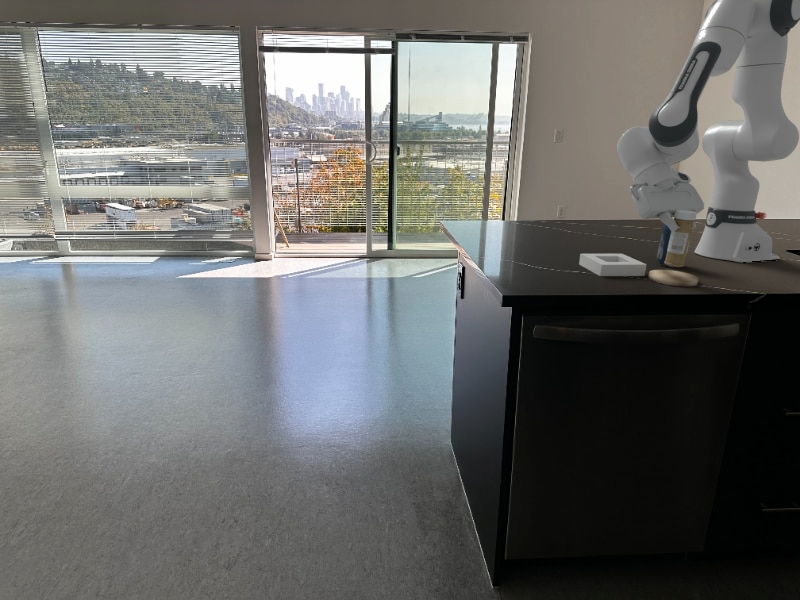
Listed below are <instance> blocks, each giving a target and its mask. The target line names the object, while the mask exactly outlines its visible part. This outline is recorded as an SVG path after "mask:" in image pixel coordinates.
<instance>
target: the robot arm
mask: <svg viewBox="0 0 800 600" xmlns="http://www.w3.org/2000/svg"><path fill="white" fill-rule="evenodd" d="M798 22H800V0H715V1H714V2H712V4H711V5H710V6H709V7H708V9H707V10H706V13H705V15H704V19H703V22H702V23H701V25H700V28H698V29H699V30H697V31H698V32H697V34H696V36H695V38H694V41H693V43H692V46H691V48H690V51H689V54H688V57H687V59H686V61H685V62H684V65H683V67H682V68H681V71H680V73H679V74H678V76H677V78H676V81H675V82H674V85H673V87H672V88H671V90H670V92H669V93H668V95H667V96H666V97H665V98H664V100H663V101H662V102H661V103H660V104H659V105H658V106H657V107H656V108H655V109H654V110H653V112H652V113H651V115H650V117H649V121H648V126H641V125H635V126H633V127H630V128H628V129H627V130H626V131H625V132H623V133H622V135H621V136H620V138H619V139H618V141H617V144H616V152H617V156H618V158H619V160H620V162H621V164H622V166H623V168H624V170H625V171H626V173H628V174H629V175H630V176H631V179H632V182H633V184H632V185H631V186H630V189H629V191H630V193H631V194H632V195H631V199H632V202H633V205H634V207H635V209H636V211H637V214H638V215H639V217H641V218H642V219H643V220H645V219H647V220H648V219H649V220H650V219H659V220H660V222H662V223H663V225H667V226H668V227H669V229H670V230H671V231H672V232H673V231H678V230H679V229H680V228H681V226H680V225H679V223H678V222H675V221H674V215H675V211H676V210H690V211H695V212H696V213H697V214H699V213H701V212H702V211H703V210H704V209H705V203H704V201H703V199H702V197H701V196H700V194H699V192H698V191H697V189H696V188H695V187H694V185H692V184H691V183H690V182H691V181H692V179H691V177H690V176H689V175H688V174H686V173H683V172H680V171H678V170H676V169H674V168H672V167H671V166H672V165H675V164H677V163H681V162H682V161H684V160H687V159H689V158H690V157H692V156H693V155H694V154H695V152H696V151H697V150H698V148H699V144H700V133H699V125H698V124H699V123H698V120H699V119H698V115H699V114H698V102H699V101H700V98H701V96H702V94H703V91H704V90H705V88H706V85H707V84H708V82H709V80H710V77H712V78H713V77H718V76H720V75H724V74H725V73H727V72H729V71H730V70H731V68H732V67H733V66H734V65H735V63H736V67H735V73H734V77H733V78H734V80H733V86H732V92H731V97H732V100H733V101H734V102H735V104H737V105H739V107H741V109H742V111H743V114H744V119H741V120H740V119H738V120H737V119H732V120H726V121H725V120H723V121H721V122H717V123H713V124H712V125H711V126H709V127H708V128H707V129H706V131H705V132H704V134H703V137H702V140H701V146H702V150H703V151H704V153H705V154H706V155H707V157H708V158H709V159H710V162H711V165H712V168H713V174H714V184H713V185H714V186H713V191H712V197H711V203H710V206H708V209H707V212H706V218H705V226H704V229H703V231H702V232H703V233H702V235H701V238H700V239H699V242H698V244H697V245H696V248H695V250H694V253H695V254H698V255H699V256H702V257H706V258H712V259H717V260H726V261H733V262H736V263H743V262H746V263H753V262H752V261H760V260H772V259H779V260H780V256H779V255H778V254H775V253H772V250H773V239H772V237H771V236H770V235H769V234H768V233H767V232H766V231H765V230H764V229H763V228H761V227H760V225H759V224H758V220H762V221H763V220H765V219H766V218H767V213H766V212H761V211H758V212H756V210H755V206H756V202H757V199H758V195H759V191H760V187H761V186H760V182H759V180H758V179H757V178H756V176H754V175H753V174H752V172H751V171H750V167H749V161H750V162H765V163H766V162H772V161H773V162H774V161H778V160H783V159H786V158H788V157H789V156H791V154H792V153H793V152H794V151H795V150H796V148H797V146H798V144H799V140H800V132H799V129H798V127H797V126H796V124H795V123H793V122H792V121H791V120H790V119H789V118H788V116H787V114H786V112H785V110H784V107H783V103H782V85H783V78H784V73H785V66H786V60H787V57H788V56H787V54H788V40H789V38H788V37H789V36H788V34H789V33H790V31H791V29H793V28H794V27H796V25H797V24H798ZM697 214H696V215H697ZM757 219H758V220H757ZM696 228H697V225H696V223H695V222H694V223H693V228H692V231H693V230H694V229H696Z"/></svg>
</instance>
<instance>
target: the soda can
mask: <svg viewBox="0 0 800 600" xmlns="http://www.w3.org/2000/svg"><path fill="white" fill-rule="evenodd" d="M670 236H671V230H670V229H669V227H668V226H667V225H665V224H663V226H662V229H661V233H660V238H659V244H658V249H657V254H656V262H657V264H658V265H659V264H660V265H659V266H661V265H663V266H662V267H665V266H668V267H667V268H674V267H673V266H669V265H666V264H665V263H664V262H665V259H666V255H667V249H668V244H669V240H670Z"/></svg>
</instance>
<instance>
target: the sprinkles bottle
mask: <svg viewBox="0 0 800 600" xmlns="http://www.w3.org/2000/svg"><path fill="white" fill-rule="evenodd" d="M696 218H697V213H696V212H695V211H690V210H676V211H675V215H674V217H673V219H674V221H675V222H678V223H679V225H680V226H681V228H680V229H679V230H678V231H673V232H672V231H671V236H670V240H669V244H668V249H667V255H666V259H665V262H664V263H665V264H666V265H669V266H673V267H672V268H674V267H676V268H681V267H682V268H683V267H685V262H686V259H687V254H688V250H689V247H690V240H691V237H692V231H693V230H692V228H693V223H695V220H696Z"/></svg>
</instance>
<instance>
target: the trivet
mask: <svg viewBox="0 0 800 600" xmlns="http://www.w3.org/2000/svg"><path fill="white" fill-rule="evenodd" d="M647 278H648V279H649V280H650V279H651V280H650V281H652V280H653V282H655V283H657V284H661V283H662V284H661V285H666V286H673V287H674V286H675V287H695V286H697V285H698V283H699V277H697V276H696V275H694V274H691V273H689V272H685V271H679V270H672V269H652V270H650V271H649V272H648V276H647Z"/></svg>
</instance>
